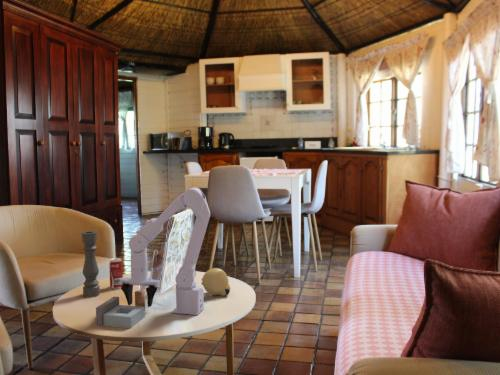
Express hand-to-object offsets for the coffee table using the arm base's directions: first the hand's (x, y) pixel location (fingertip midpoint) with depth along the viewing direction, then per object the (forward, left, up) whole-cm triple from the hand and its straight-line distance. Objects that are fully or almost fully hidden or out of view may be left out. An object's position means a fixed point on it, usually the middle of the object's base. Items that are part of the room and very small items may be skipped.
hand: (140, 305), depth 175 cm
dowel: (0, 0, -2) cm, 2 cm away
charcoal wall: (+7, +10, -2) cm, 12 cm away
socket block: (+1, +10, -2) cm, 11 cm away
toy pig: (-21, -24, -2) cm, 32 cm away
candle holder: (+27, -13, -2) cm, 30 cm away
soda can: (+22, -24, -2) cm, 33 cm away
